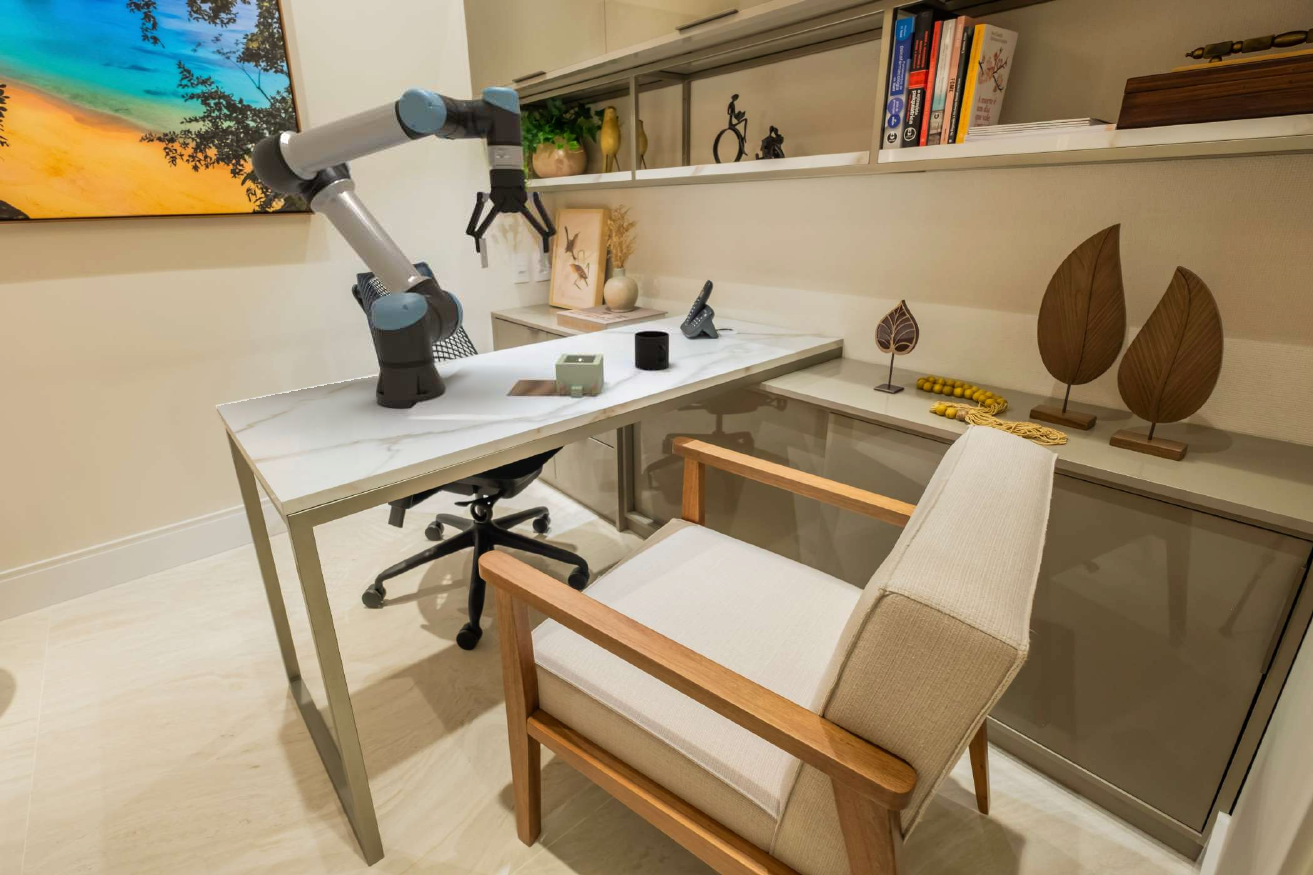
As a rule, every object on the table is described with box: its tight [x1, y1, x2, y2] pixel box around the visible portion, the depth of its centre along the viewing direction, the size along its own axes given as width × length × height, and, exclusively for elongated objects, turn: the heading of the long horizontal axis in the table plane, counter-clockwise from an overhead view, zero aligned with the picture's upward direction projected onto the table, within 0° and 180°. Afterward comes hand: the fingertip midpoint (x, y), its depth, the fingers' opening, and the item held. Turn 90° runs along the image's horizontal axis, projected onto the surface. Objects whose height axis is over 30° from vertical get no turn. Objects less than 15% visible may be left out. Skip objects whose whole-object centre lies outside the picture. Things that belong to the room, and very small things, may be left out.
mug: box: [634, 330, 670, 371], centre depth 172 cm, size 9×12×9 cm
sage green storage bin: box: [554, 353, 605, 398], centre depth 149 cm, size 13×10×7 cm
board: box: [505, 379, 598, 398], centre depth 151 cm, size 21×13×4 cm, turn 89°
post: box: [575, 358, 586, 363], centre depth 150 cm, size 2×2×7 cm
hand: (514, 268), depth 145 cm, fingers open, 13 cm apart
